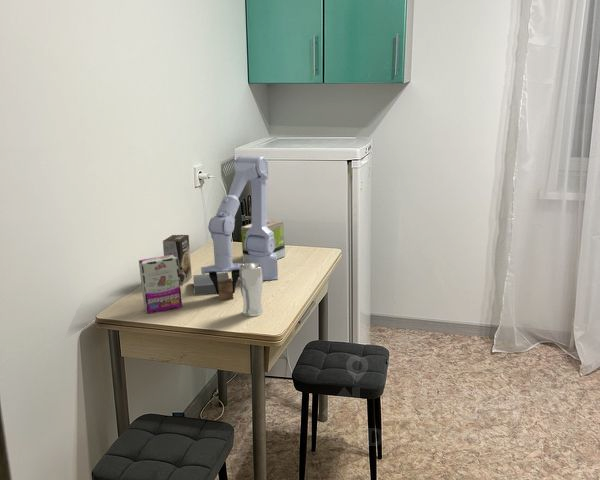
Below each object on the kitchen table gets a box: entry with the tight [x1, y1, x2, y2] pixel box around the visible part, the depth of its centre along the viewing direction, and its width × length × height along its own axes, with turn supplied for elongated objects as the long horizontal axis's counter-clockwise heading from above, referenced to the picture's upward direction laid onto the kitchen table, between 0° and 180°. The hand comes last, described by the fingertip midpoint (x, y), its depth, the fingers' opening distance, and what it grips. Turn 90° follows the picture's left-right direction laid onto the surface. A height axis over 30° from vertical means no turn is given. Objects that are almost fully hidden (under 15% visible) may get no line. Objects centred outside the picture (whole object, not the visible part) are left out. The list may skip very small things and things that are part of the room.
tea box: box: [240, 219, 286, 264], centre depth 231 cm, size 15×10×15 cm, turn 144°
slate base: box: [192, 272, 230, 296], centre depth 202 cm, size 12×12×3 cm
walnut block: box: [218, 277, 234, 301], centre depth 192 cm, size 4×4×6 cm
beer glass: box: [238, 263, 264, 318], centre depth 177 cm, size 7×7×15 cm
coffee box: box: [162, 234, 193, 286], centre depth 208 cm, size 9×6×16 cm
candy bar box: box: [138, 255, 183, 315], centre depth 182 cm, size 11×5×16 cm, turn 117°
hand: (225, 292), depth 192 cm, fingers closed on walnut block, 4 cm apart
